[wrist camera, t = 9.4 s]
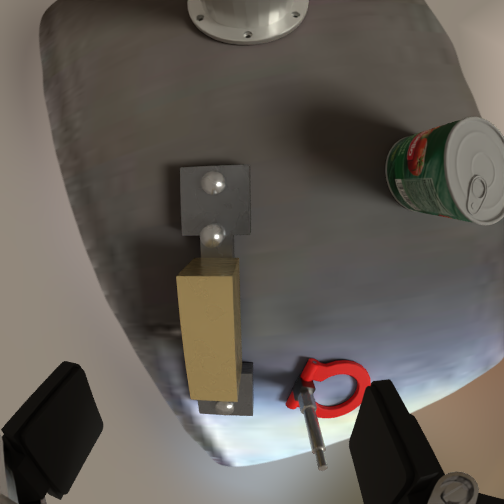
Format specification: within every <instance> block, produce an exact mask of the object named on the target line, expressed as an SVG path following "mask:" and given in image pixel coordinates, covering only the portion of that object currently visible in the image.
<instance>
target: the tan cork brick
mask: <svg viewBox="0 0 504 504" xmlns="http://www.w3.org/2000/svg"><path fill="white" fill-rule="evenodd" d="M176 280H177V292H178V303H179V313H180V322H181V331H182V340H183V348H184V356H185V364H186V371H187V378H188V385H189V391H190V398H191V399H193V400H207V401H226V402H238V395H239V386H240V378H241V370H242V347H241V315H240V279H239V258H194V259H193V260H192V261H191V262H190V263H189V264H188V265H187V266H186V267H185V268H184V269H183V270H182V271H181V272H180V273H179V274H178V275H177V276H176Z"/></svg>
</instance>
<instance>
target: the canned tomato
mask: <svg viewBox="0 0 504 504" xmlns="http://www.w3.org/2000/svg"><path fill="white" fill-rule="evenodd" d="M385 174H386V181H387V184H388V187H389V189H390V191H391V194H392V195H393V197H394V198H395V199H396V201H397V202H398V203H399V204H400V205H402V206H403V207H405V208H406V209H408V210H411V211H413V212H421V213H426V214H432V215H438V216H443V217H448V218H453V219H458V220H463V221H468V222H474V223H476V224H479V225H491V224H494V223H496V222H498V221H499V220H500V219H502V218H503V217H504V136H503V135H502V134H501V132H500V131H499V130H498V129H497V128H496V127H495V126H494V125H493V124H492V123H490V122H489V121H487V120H485V119H483V118H480V117H474V116H472V117H466V118H464V119H462V120H459V121H455V122H452V123H448V124H446V125H442V126H439V127H436V128H432V129H429V130H427V131H423V132H420V133H417V134H414V135H411V136H408V137H404V138H402V139H400V140H399V141H397V142H396V143H395V144H394V145H393V147H392V148H391V149H390V151H389V154H388V156H387V160H386V165H385Z"/></svg>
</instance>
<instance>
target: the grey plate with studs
mask: <svg viewBox="0 0 504 504" xmlns="http://www.w3.org/2000/svg"><path fill="white" fill-rule="evenodd" d="M180 194H181V224H182V236H193V235H200V246H201V258H234V235H250V233H251V195H250V166H249V165H221V166H199V167H182V168H180ZM198 406H199V412H200V413H201V414H216V415H239V416H253V363H245V362H242V370H241V378H240V386H239V395H238V402H226V401H207V400H198Z"/></svg>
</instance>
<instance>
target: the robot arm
mask: <svg viewBox="0 0 504 504" xmlns="http://www.w3.org/2000/svg"><path fill="white" fill-rule="evenodd" d="M308 3H309V0H188V1H187V5H188V12H189V15H190V17H191V19H192V21H193V23H194V25H195V26H196V27H197V28H198V29H199V30H200V31H201V32H203V33H204V34H205V35H207V36H209V37H211V38H213V39H215V40H218V41H221V42H225V43H230V44H237V45H254V44H262V43H266V42H270V41H274V40H277V39H279V38H281V37H284V36H286V35H287V34H289V33H290V32H292V31H293V30H295V29H296V28H297V27H298V26H299V25H300V24H301V22H302V21H303V19H304V18H305V15H306V12H307V9H308ZM247 37H250V38H247ZM1 430H2V432H3V433H4V435H3V436H2V437H1V435H0V504H47V503H46V500H45V495H46V493H48V494H49V495H51V496H54V497H55V498H58V499H60V500H61V498H62V497H63V495H64V494H67V493H68V492H69V490H70V488H71V486H72V484H73V483H74V481H75V479H76V477H77V475H78V473H79V472H80V470H81V468H82V466H83V464H84V462H85V461H86V459H87V457H88V455H89V453H90V452H91V450H92V448H93V446H94V444H95V443H96V441H97V439H98V437H99V436H100V434H101V432H102V430H103V421H102V419H101V416H100V414H99V411H98V409H97V406H96V403H95V401H94V398H93V395H92V392H91V390H90V386H89V383H88V380H87V377H86V374H85V372H84V370H83V369H82V368H81V366H80V365H79V364H76V363H71V362H67V361H64V362H62V363H61V364H60V365H59V366H58V367H57V368H56V369H55V370H54V371H53V373H52V374H51V375H50V376H49V377H48V378H47V379H46V380H45V381H44V382H43V383H42V384H41V385H40V386H39V387H38V389H37V390H36V391H35V392H34V393H33V394H32V395H31V396H30V397H29V398H28V400H27V401H26V402H25V403H24V404H23V405H22V406H21V408H19V410H18V411H17V412H16V413H15V414H14V415H13V416H12V418H11V419H10V420H9V421H8V422H7V423H6V424H5V426H4V427H3V428H2V429H1ZM349 448H350V452H351V456H352V459H353V463H354V466H355V471H356V475H357V478H358V482H359V486H360V490H361V494H362V498H363V502H364V504H504V499H500V498H496V497H492V496H488V495H485V494H481V493H478V490H479V489H478V485H477V483H476V481H475V479H474V478H473V477H471V476H470V475H468V474H465V473H463V472H452V473H448V474H446V475H445V474H444V472H443V470H442V468H441V466H440V464H439V462H438V460H437V458H436V456H435V454H434V452H433V450H432V448H431V446H430V444H429V442H428V440H427V439H426V437H425V435H424V433H423V431H422V429H421V427H420V425H419V424H418V422H417V420H416V418H415V417H414V416H413V415H411V414H409V412H408V410H407V408H406V407H405V405H404V403H403V401H402V399H401V397H400V396H399V394H398V392H397V390H396V388H395V387H394V385H393V383H392V381H391V380H389V379H388V380H380V381H373V382H372V383H371V385H370V386H367V387H366V389H365V392H364V395H363V399H362V402H361V406H360V409H359V412H358V416H357V419H356V422H355V425H354V428H353V431H352V434H351V437H350V441H349Z"/></svg>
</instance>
